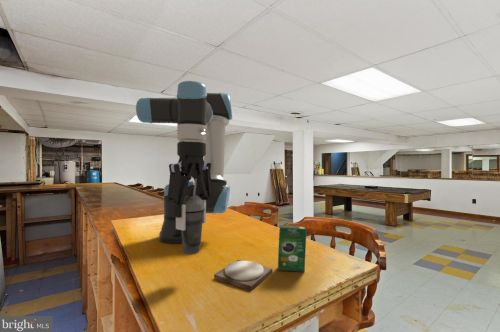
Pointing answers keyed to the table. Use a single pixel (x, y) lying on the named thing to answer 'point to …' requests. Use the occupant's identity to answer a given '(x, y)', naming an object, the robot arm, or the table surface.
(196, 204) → the beverage cup
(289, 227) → the coffee box
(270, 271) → the mount
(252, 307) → the table surface
